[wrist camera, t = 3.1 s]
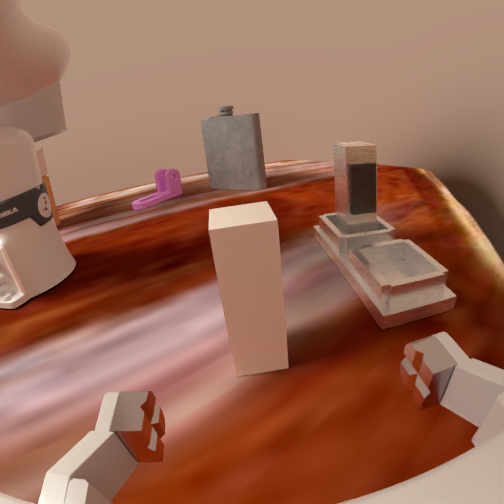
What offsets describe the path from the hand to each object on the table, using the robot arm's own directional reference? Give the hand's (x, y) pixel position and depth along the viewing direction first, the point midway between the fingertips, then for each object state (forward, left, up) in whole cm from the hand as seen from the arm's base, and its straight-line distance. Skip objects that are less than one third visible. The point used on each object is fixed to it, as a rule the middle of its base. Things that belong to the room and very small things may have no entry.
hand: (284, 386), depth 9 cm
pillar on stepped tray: (+15, +24, -11) cm, 30 cm away
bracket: (-18, +70, -11) cm, 73 cm away
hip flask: (+2, +70, -11) cm, 71 cm away
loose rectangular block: (0, +13, -11) cm, 17 cm away
